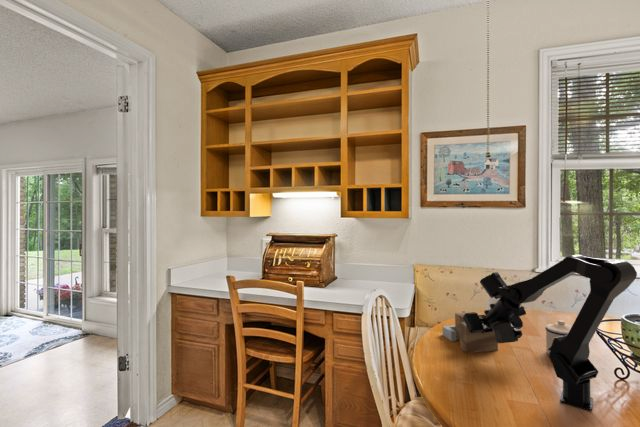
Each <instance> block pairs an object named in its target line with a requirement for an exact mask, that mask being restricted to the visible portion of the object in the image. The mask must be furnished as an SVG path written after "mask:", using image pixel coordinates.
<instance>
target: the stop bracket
mask: <svg viewBox="0 0 640 427" xmlns="http://www.w3.org/2000/svg"><path fill="white" fill-rule="evenodd" d="M442 336H444V337H445V338H446V339H448V340H449V341H451V342H456V341H457V338H456V331H455V324H453V325H452V324H451V325H443V326H442Z"/></svg>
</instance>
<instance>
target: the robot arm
mask: <svg viewBox="0 0 640 427" xmlns="http://www.w3.org/2000/svg"><path fill="white" fill-rule="evenodd" d="M574 274H578V275H580V276H581V277H584V278H587V279H589V286H590V289H589V290H590V291H589V293H588V295H587V297H586V299H585V300H584V303H583V304H582V306H581V309H580V311H579V312H578V314H577V316H576V317H575V320H574V321H573V323H572V326H570V327H571V329H570V331H569V333H568V335H564V336H560V337H557V338H554V340H553V343H552V346H551V347H550V348H549V349H548V350H550V353H549V354H548V358H549V359H550V362H551V364H552V366H553V370H554V373H555V375H556V377H557V378H559V379H561V380H562V390H561V393H560V398H559V402H560V403H564V404H567V405H570V406H573V407H577V408H580V409H584V410H586V411H587V410H588V411H592V410H593V405H594V404H593V403H594V398H593V397H592V396H591V380H593V379H596V378H597V377H598V374H599V370H598V369H597V367H596V366H595V365H594V364H593V363H592V361H591V360H590V359H589V357H590V353H591V351H590V342H591V341H592V339H593V337H594V335H595V334H596V332H597V330H598V328H599V327H600V325H601V323H602V322H603V321H602V320H603V319H604V318H605V316H606V314H607V313H608V310H609V309H610V307H611V305H612V304H613V302H614V300H615V298H617V297H618V296H619V295H620V294H622V293H623V292H625V291H627V289H628V288H629V287H630V286H631V285H632V284H633V282H634V281H635V280H636V279H637V276H638V272H637V271H636V269H635V267H634V266H633V264H631V263H630V262H628V261H626V260H623V259H616V260H608V259H601V258H596V257H595V258H594V257H589V256H585V255H582V254H573V255H567V256H565V257H564V258H563V259H562V260H560V261H559V262H556V263H555V264H553V265H552V266H550V267H549V268H546V269H545V270H543V271H542V272H541V273H538V274H537V275H535V276H534V277H532V278H529V279H526V280H522V281H520V282H516V283H513V284H510V285H507V283H506V282H505V281H504V279H503V278H502V277H501V275H500V274H499V272H497V271H496V272H492V273H491V274H489V275H486V276H485V277H483V278H481V279H480V280H479V284H480V285H481V286H482V288H483V289H484V291H485V292H486V293H487V295H488V296H489V297H491V298H495V299H498V298H500V299H499V300H498V301H497V302H496V303H495V304H490V308H491V309H490V310H487V309H486V310H484V311H483V312H484V314H478V312H475V311H472V312H465V314H464V316H463V319H464V321H465V323H466V326H467V328H468V330H469V332H471V333H479V332H481V333H486V332H493V330H494V332H495V336H496V341H497V342H498V344H505V343H506V344H508V343H509V344H510V343H516V342H518V341H519V339H521V337H522V336H523V331H522V330H521V329H522V328H523V327H524V322H523V320H522V318H521V317H522V316H525V315H527V311H526V310H525V306H522V304H528V303H533V302H535V301H536V300H538V299H539V298H540V297H541V296H543V293H544V291H546V290H547V289H549V288H551V287H552V286H555V285H556V284H558V283H560V282H562V281H564V280H565V279H567V278H569V277H571V276H573V275H574ZM511 324H512V326H511Z"/></svg>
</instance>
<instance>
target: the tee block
mask: <svg viewBox="0 0 640 427" xmlns="http://www.w3.org/2000/svg"><path fill="white" fill-rule="evenodd" d="M465 313H466V312H455V313H454V321H455V322H454V325H455V331H456V340H457V339H458V340H459V348H460V350H461V351H463V353H464V352H465V354H471V353H480V352H481V353H482V352H492V351H493V352H494V351H499V343H498V342H497V341H496V336H495V332H494V330H493V332H486V333H481V332H479V333H471V332H469V330H468V328H467V326H466V323H465V321H464V319H463V316H464V314H465Z"/></svg>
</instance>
